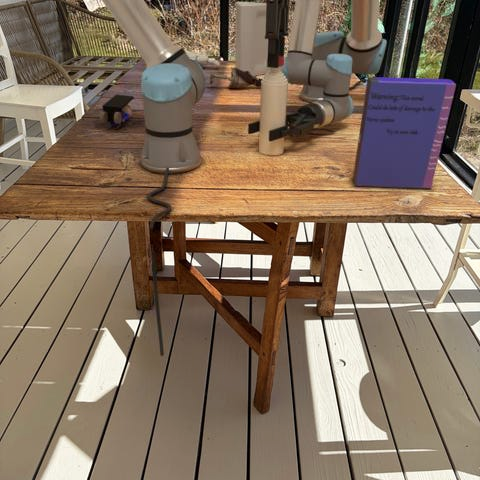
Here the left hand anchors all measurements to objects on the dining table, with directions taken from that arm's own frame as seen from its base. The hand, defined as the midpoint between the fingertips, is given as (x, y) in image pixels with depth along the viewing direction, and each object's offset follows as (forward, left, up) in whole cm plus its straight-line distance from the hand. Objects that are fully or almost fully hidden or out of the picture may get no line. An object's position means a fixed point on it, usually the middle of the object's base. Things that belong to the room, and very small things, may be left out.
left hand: (275, 65), depth 120 cm
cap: (0, 0, +2) cm, 2 cm away
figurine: (+68, +19, -23) cm, 74 cm away
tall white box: (+98, +22, -23) cm, 103 cm away
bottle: (0, 0, -23) cm, 23 cm away
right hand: (-4, +3, -16) cm, 17 cm away
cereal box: (-16, -31, -23) cm, 41 cm away
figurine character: (+12, +50, -23) cm, 56 cm away
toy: (+100, +53, -23) cm, 116 cm away
